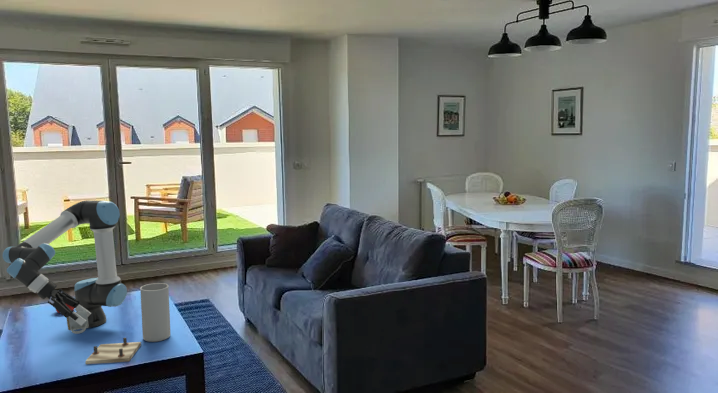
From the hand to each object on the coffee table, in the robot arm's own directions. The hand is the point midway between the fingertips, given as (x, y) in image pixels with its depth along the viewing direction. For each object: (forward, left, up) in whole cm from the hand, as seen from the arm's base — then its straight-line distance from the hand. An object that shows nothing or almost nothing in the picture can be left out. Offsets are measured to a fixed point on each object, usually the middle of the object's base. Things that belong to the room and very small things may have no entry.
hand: (86, 319), depth 238 cm
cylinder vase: (-19, +24, -17) cm, 35 cm away
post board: (-2, +10, -17) cm, 20 cm away
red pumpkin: (-67, -37, -18) cm, 78 cm away
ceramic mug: (+2, -3, -4) cm, 5 cm away
